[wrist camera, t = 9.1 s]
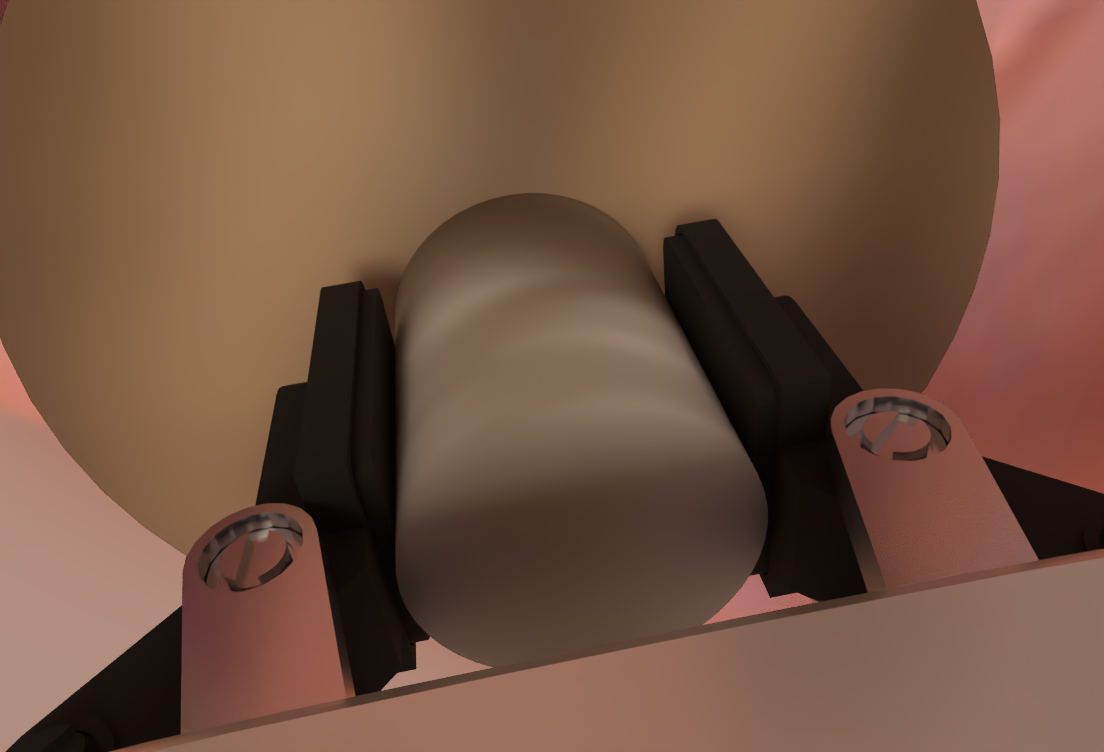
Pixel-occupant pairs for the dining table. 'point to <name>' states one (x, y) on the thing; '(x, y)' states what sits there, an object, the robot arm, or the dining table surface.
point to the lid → (480, 260)
